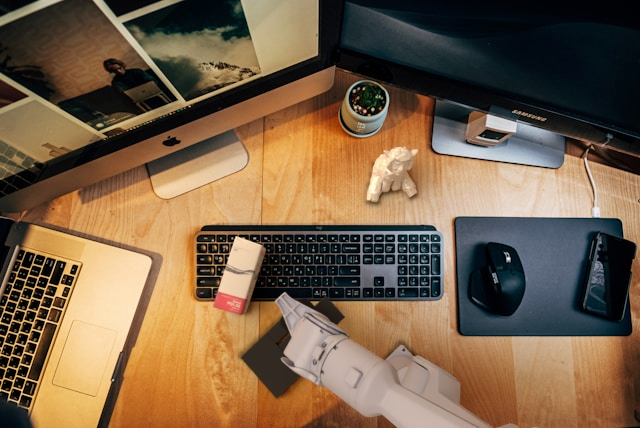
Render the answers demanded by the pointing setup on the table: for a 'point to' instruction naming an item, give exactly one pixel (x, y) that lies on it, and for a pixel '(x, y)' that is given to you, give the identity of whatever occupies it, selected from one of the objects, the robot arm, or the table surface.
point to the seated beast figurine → (392, 173)
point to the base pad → (271, 362)
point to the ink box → (239, 276)
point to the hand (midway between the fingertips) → (312, 327)
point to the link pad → (327, 310)
